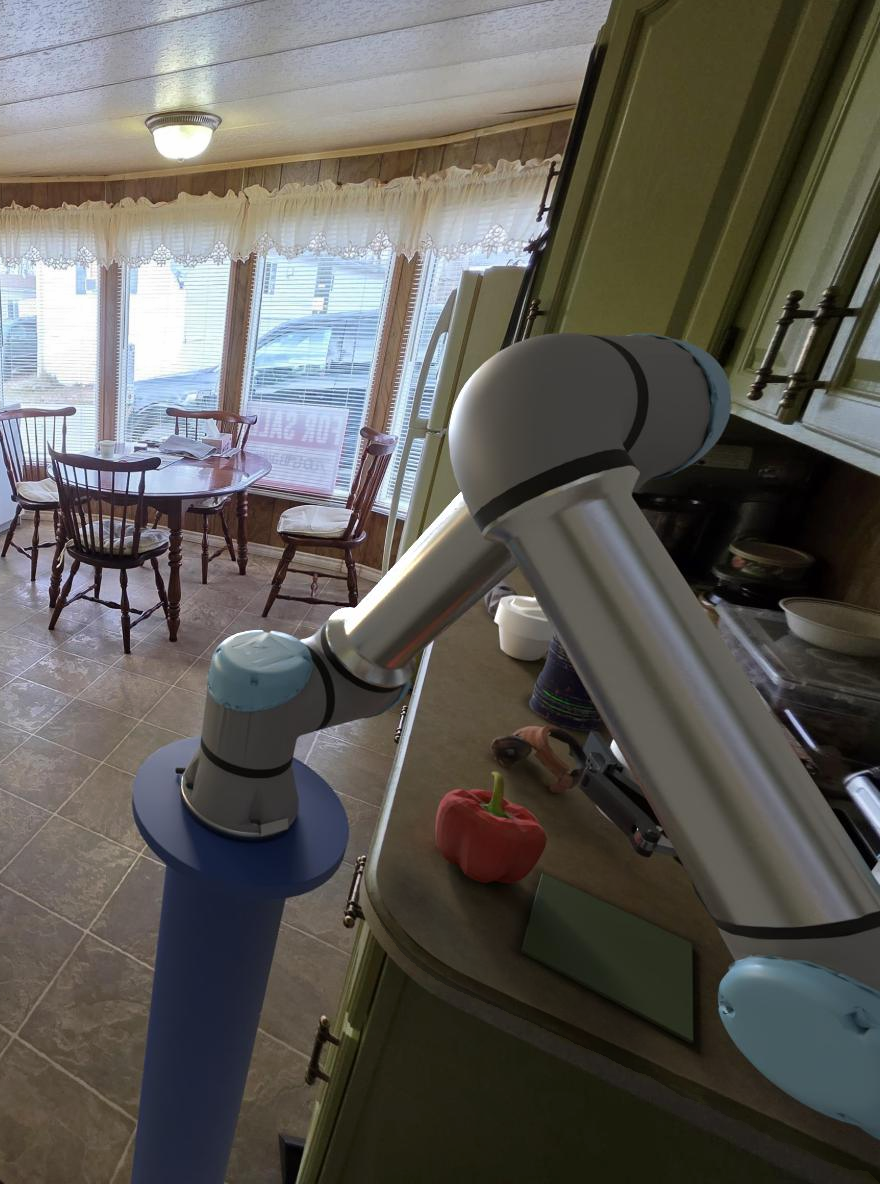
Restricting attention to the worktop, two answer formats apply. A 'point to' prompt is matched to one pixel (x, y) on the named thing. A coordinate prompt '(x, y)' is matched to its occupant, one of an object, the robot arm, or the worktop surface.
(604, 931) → the coaster
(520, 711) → the worktop surface
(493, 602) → the perforated stone tool
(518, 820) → the vegetable
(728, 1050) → the worktop surface
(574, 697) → the storage jar
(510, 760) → the headlamp
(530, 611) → the white lidded tub
